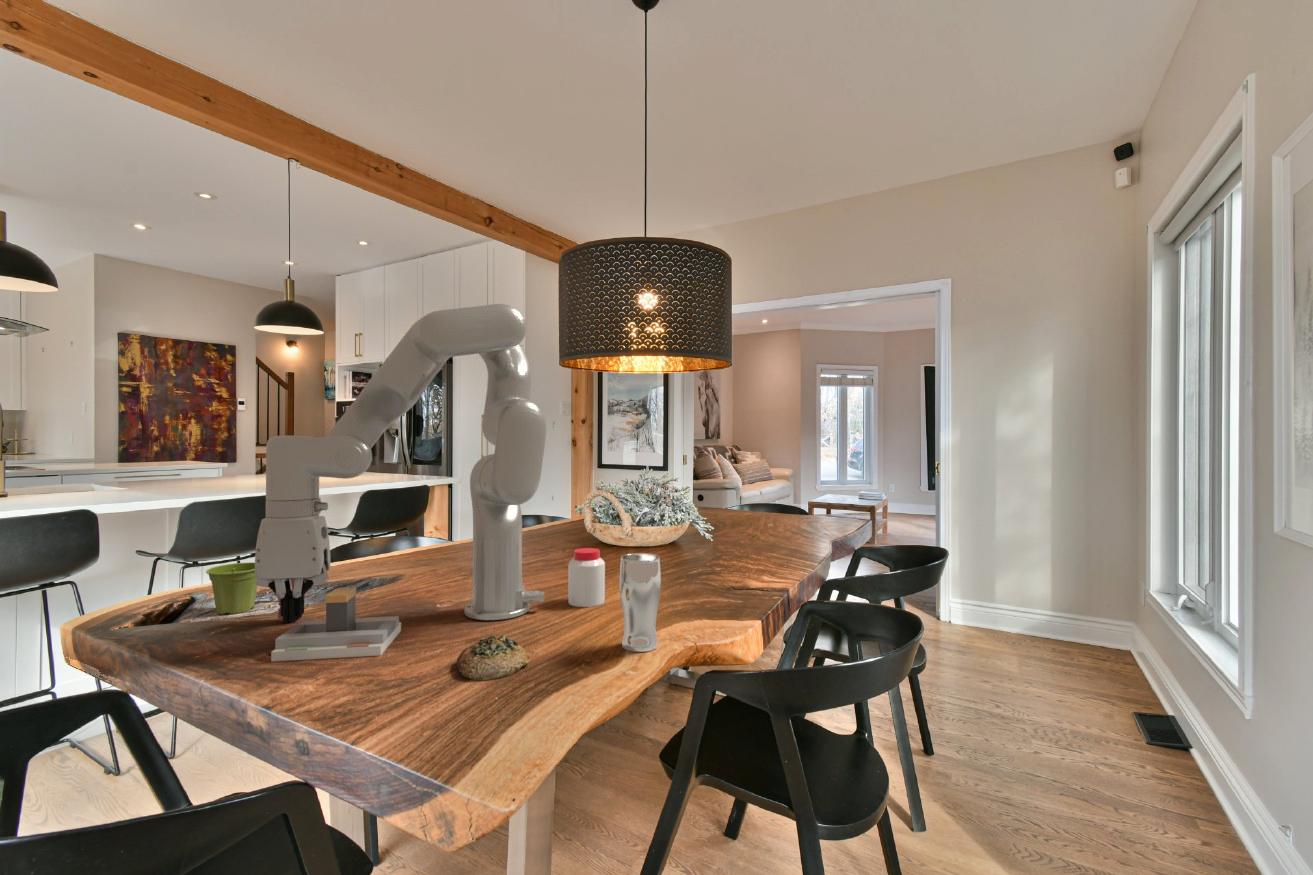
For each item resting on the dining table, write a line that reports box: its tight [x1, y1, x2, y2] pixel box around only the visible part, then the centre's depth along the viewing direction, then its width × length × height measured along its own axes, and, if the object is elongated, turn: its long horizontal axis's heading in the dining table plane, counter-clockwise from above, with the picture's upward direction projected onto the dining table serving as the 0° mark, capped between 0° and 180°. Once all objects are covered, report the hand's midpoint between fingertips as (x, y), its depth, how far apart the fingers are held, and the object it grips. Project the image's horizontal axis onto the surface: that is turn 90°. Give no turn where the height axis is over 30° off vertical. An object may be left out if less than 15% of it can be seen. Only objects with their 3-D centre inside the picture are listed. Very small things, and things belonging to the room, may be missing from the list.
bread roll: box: [456, 634, 531, 681], centre depth 88 cm, size 11×11×5 cm
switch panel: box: [270, 615, 402, 662], centre depth 97 cm, size 16×12×3 cm
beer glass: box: [619, 552, 662, 653], centre depth 97 cm, size 7×7×15 cm
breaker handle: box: [324, 587, 357, 632], centre depth 97 cm, size 3×5×7 cm
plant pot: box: [205, 561, 258, 615], centre depth 116 cm, size 9×9×9 cm
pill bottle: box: [567, 547, 606, 608], centre depth 123 cm, size 8×8×11 cm
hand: (292, 619), depth 96 cm, fingers closed
